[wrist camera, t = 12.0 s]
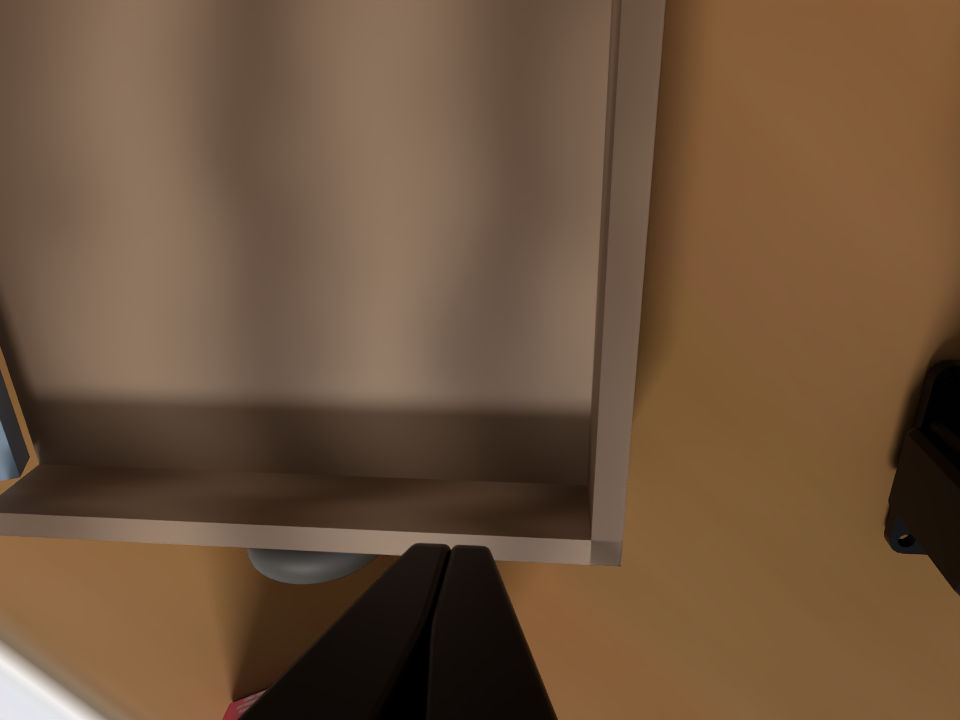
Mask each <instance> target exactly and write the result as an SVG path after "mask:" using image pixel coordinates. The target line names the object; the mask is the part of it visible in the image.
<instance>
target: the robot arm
mask: <svg viewBox="0 0 960 720" xmlns="http://www.w3.org/2000/svg"><path fill="white" fill-rule="evenodd" d="M950 374H955V377H954V378H953V380H952V381H950V382H949V383H946V384H943V381H944V379H945V378H946V377H947V376H948V375H950ZM888 501H889V504H890V506H891V509H890V513H889V516H888V520H887V524H886V527H885V531H884V537H885V539H886V541H887V542H888V544H889V545H890V547H891V548H892V549H893V550H894V551H896V552H898V553H903V554H924V555H928V556H929V557H930V559H931V560H932V561H933V563H934V564H935V565H936V567H937V568H938V569H939V571H940V572H941V573H942V575H943V576H944V577H945V579H946V580H947V581H948V583H949V584H950V585H951V587H952V588H953V589H954V591H955V592H956V593H957V594H958V595H959V596H960V360H945V361H941V362H939V363H937V364H935V365H934V366H933V367H932V368H931V369H930V370H929V372H928V374H927V376H926V380H925V383H924V387H923V391H922V394H921V398H920V402H919V406H918V409H917V413H916V417H915V420H914V424H913V428H912V429H911V430H910V431H909V432H908V433H907V434H906V436H905V440H904V444H903V447H902V451H901V455H900V459H899V462H898V466H897V470H896V474H895V477H894V481H893V485H892V489H891V492H890V496H889V500H888ZM905 534H909V535H908V536H907V537H905V538H904V539H899V538H900V537H901V536H903V535H905ZM237 720H558V719H557V716H556V714H555V711H554V709H553V706H552V704H551V701H550V699H549V696H548V694H547V691H546V689H545V686H544V684H543V681H542V679H541V676H540V674H539V671H538V669H537V666H536V664H535V661H534V658H533V656H532V653H531V651H530V648H529V646H528V643H527V641H526V638H525V636H524V633H523V631H522V628H521V626H520V623H519V621H518V618H517V616H516V613H515V611H514V608H513V606H512V603H511V601H510V598H509V596H508V593H507V591H506V588H505V586H504V583H503V581H502V578H501V576H500V573H499V571H498V568H497V566H496V563H495V561H494V558H493V556H492V553H491V551H490V550H489V548H488V547H486V546H478V545H455V546H454V547H453V548H452V549H450V547H449V546H448V545H447V544H435V543H416V544H414V545H412V546H411V547H410V548H409V549H407V550H406V551H405V552H404V553H403V554H402V555H401V556H400V557H399V558H398V559H397V560H396V561H395V562H394V563H393V564H392V565H391V566H390V567H389V568H388V569H387V570H386V571H385V572H384V573H383V574H382V575H381V576H380V577H379V578H378V579H377V580H376V581H375V582H374V583H373V584H372V585H371V586H370V587H369V588H368V589H367V590H366V591H365V592H364V593H363V594H362V595H361V596H360V597H359V598H358V599H357V600H356V601H355V602H354V603H353V604H352V605H351V606H350V607H349V608H348V609H347V610H346V611H345V612H344V613H343V614H342V615H341V616H340V617H339V618H338V619H337V620H336V621H335V622H334V623H333V624H332V625H331V626H330V627H329V628H328V629H327V630H326V631H325V632H324V633H323V634H322V635H321V636H320V637H319V638H318V639H317V640H316V641H315V642H314V643H313V644H312V645H311V646H310V647H309V648H308V649H307V650H306V651H305V652H304V653H303V654H302V655H301V656H300V657H299V658H298V659H297V660H296V661H295V662H294V663H293V664H292V665H291V666H290V667H289V668H288V669H287V670H286V671H285V672H284V673H283V674H282V675H281V676H280V677H279V678H278V679H277V680H276V681H275V682H274V683H273V684H272V685H271V686H270V687H269V688H268V689H267V690H266V691H265V692H264V693H263V694H262V695H261V696H260V697H259V698H258V699H257V700H256V701H255V702H254V703H253V704H252V705H251V706H250V707H249V708H248V709H247V710H246V711H245V712H244V713H243V714H242V715H241V716H240V717H239V718H238V719H237Z"/></svg>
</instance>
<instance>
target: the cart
mask: <svg viewBox="0 0 960 720" xmlns="http://www.w3.org/2000/svg"><path fill="white" fill-rule="evenodd" d="M665 4H666V0H0V346H1V349H2V352H3V355H4V358H5V361H6V364H7V367H8V370H9V373H10V376H11V379H12V382H13V385H14V388H15V391H16V394H17V397H18V400H19V403H20V406H21V409H22V412H23V415H24V418H25V421H26V424H27V427H28V430H29V433H30V436H31V439H32V442H33V446H34V449H35V452H36V455H37V458H38V461H39V465H38V466H37V467H35V468H34V469H33V470H32V471H30V472H29V473H28V474H27V475H25V476H24V477H23V478H21V479H20V480H19V481H18V482H16V483H15V484H14V485H13V486H11V487H10V488H9V489H8V490H6V491H5V492H4V493H3V494H1V495H0V535H3V536H23V537H43V538H63V539H83V540H103V541H123V542H143V543H163V544H183V545H203V546H223V547H243V548H247V551H248V556H249V559H250V561H251V563H252V565H253V566H254V567H255V568H256V569H257V570H258V571H259V572H260V573H262V574H263V575H265V576H267V577H269V578H271V579H274V580H277V581H280V582H285V583H291V584H315V583H322V582H327V581H331V580H335V579H339V578H341V577H344V576H347V575H349V574H351V573H354V572H356V571H358V570H359V569H361V568H363V567H365V566H366V565H367V564H369V563H370V562H372V561H373V560H374V559H375V558H376V557H377V556H378V555H379V554H382V555H402V554H403V553H404V552H405V551H406V550H407V549H409V548H410V547H411V546H412V545H414V544H416V543H435V544H447V545H448V546H449V547H450V549H452V548H453V547H454V546H455V545H478V546H486V547H488V548H489V550H490V551H491V553H492V556H493V558H494V560H502V561H522V562H542V563H562V564H582V565H602V566H621V556H622V543H623V530H624V518H625V505H626V493H627V480H628V468H629V455H630V443H631V430H632V418H633V405H634V392H635V380H636V367H637V355H638V342H639V330H640V317H641V305H642V292H643V280H644V267H645V254H646V242H647V229H648V217H649V204H650V192H651V179H652V167H653V154H654V142H655V129H656V116H657V104H658V91H659V79H660V66H661V54H662V41H663V29H664V16H665Z"/></svg>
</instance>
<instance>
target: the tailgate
mask: <svg viewBox="0 0 960 720" xmlns="http://www.w3.org/2000/svg"><path fill="white" fill-rule="evenodd" d="M29 458H30V456H29V453H28V450H27V448H26V445H25V442H24V439H23V436H22V433H21V430H20V427H19V424H18V421H17V418H16V415H15V412H14V409H13V406H12V403H11V400H10V397H9V394H8V391H7V388H6V385H5V382H4V379H3V376H2V373H1V370H0V481H2V480H7V479H13V478H19V477H20V476H21V474H22V472H23V470H24V468H25V466H26V464H27V462H28V460H29Z"/></svg>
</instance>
